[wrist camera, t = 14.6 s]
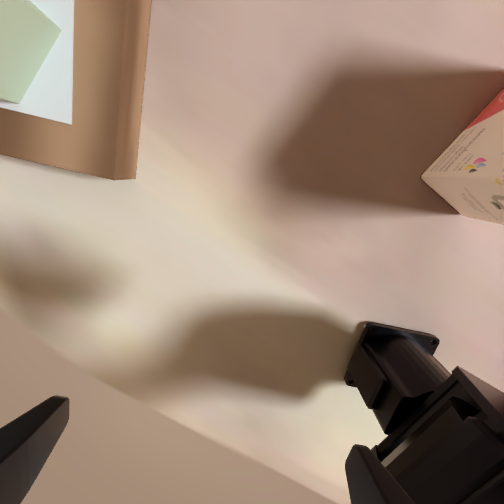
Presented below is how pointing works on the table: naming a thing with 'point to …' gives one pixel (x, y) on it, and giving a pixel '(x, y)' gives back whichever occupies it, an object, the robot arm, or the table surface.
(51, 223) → the table surface
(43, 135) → the walnut base plate
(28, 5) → the sage pillar
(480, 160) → the ink cartridge box
